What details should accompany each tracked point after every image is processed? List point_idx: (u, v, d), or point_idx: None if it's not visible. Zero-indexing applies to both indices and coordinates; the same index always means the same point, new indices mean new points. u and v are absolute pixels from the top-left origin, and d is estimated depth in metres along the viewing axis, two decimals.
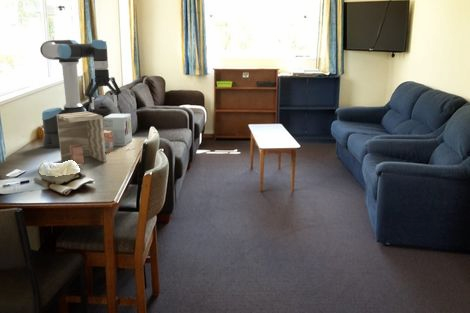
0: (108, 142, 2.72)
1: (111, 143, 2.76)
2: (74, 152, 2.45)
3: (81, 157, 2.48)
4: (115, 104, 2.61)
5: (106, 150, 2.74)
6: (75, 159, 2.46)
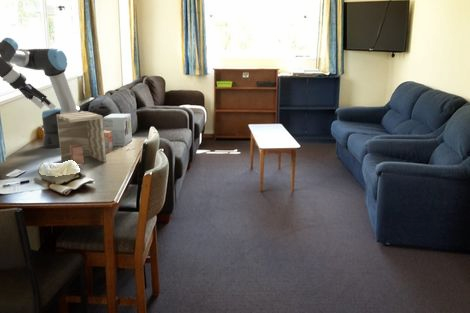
0: (108, 142, 2.73)
1: (111, 143, 2.76)
2: (74, 152, 2.45)
3: (81, 157, 2.48)
4: None
5: (106, 150, 2.74)
6: (75, 159, 2.46)
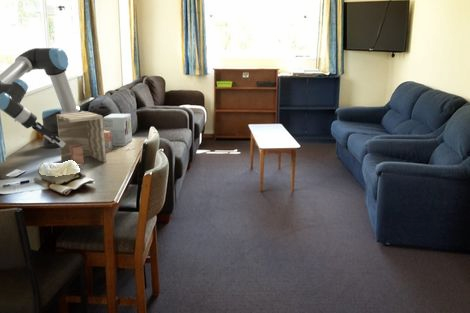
0: (107, 142, 2.73)
1: (110, 143, 2.76)
2: (74, 152, 2.45)
3: (81, 157, 2.48)
4: None
5: (105, 150, 2.74)
6: (75, 159, 2.46)
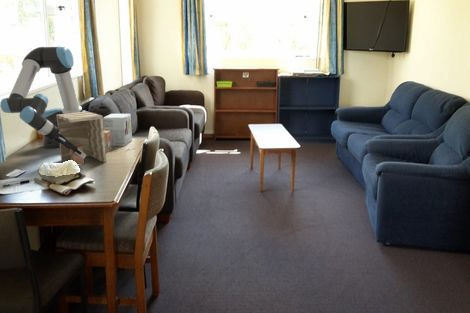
0: (106, 142, 2.73)
1: (109, 143, 2.77)
2: None
3: None
4: None
5: None
6: (75, 159, 2.46)
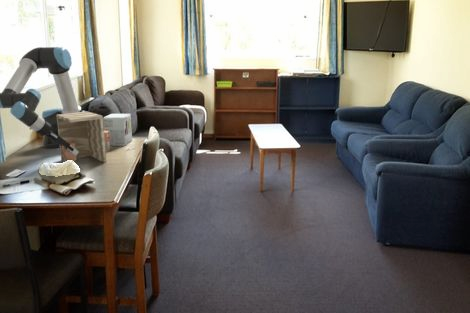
0: (106, 142, 2.73)
1: (108, 143, 2.77)
2: None
3: None
4: None
5: None
6: (67, 155, 2.42)
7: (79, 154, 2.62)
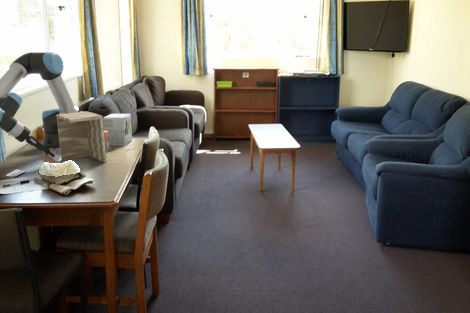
0: (105, 142, 2.73)
1: (108, 143, 2.77)
2: (47, 156, 2.36)
3: (55, 161, 2.39)
4: None
5: None
6: None
7: (79, 154, 2.62)
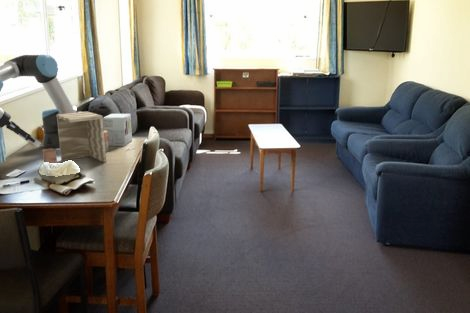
0: (105, 142, 2.74)
1: (107, 143, 2.77)
2: (47, 156, 2.36)
3: (55, 161, 2.39)
4: None
5: None
6: None
7: (79, 154, 2.62)
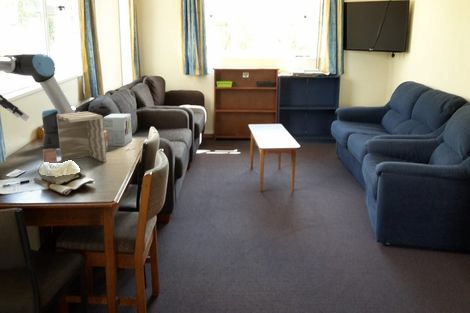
0: None
1: (107, 143, 2.77)
2: (47, 156, 2.36)
3: (55, 161, 2.39)
4: None
5: None
6: None
7: (79, 154, 2.62)
